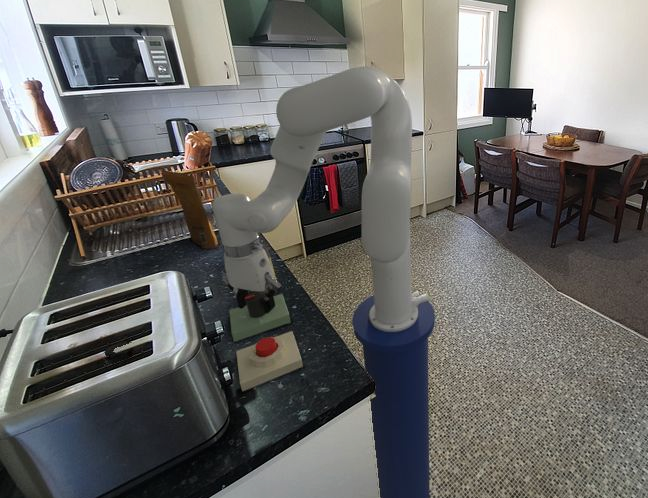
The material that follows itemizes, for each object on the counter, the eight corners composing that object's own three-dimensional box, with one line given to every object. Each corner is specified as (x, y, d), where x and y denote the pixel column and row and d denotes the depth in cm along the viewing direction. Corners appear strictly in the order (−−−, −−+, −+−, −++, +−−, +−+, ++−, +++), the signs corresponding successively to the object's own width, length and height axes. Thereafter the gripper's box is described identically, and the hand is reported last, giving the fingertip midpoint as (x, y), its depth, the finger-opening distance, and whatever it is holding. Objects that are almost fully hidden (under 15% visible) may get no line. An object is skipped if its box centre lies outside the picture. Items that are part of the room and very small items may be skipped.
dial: (266, 304, 91) (262, 287, 89) (269, 314, 88) (265, 296, 85) (248, 310, 89) (244, 293, 87) (250, 320, 85) (245, 302, 83)
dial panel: (283, 301, 96) (282, 293, 95) (290, 322, 88) (289, 314, 87) (231, 317, 90) (229, 309, 89) (234, 342, 82) (231, 333, 81)
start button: (275, 340, 78) (273, 334, 77) (278, 352, 74) (276, 346, 74) (256, 347, 76) (254, 341, 75) (258, 360, 73) (256, 353, 72)
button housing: (293, 337, 83) (290, 324, 82) (303, 366, 75) (300, 352, 74) (238, 358, 78) (234, 344, 76) (242, 391, 70) (237, 377, 68)
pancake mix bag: (205, 254, 120) (182, 177, 109) (181, 240, 130) (157, 168, 119) (225, 246, 125) (204, 172, 114) (200, 233, 135) (179, 163, 124)
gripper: (284, 242, 82) (296, 303, 89) (223, 234, 86) (239, 293, 93) (263, 258, 75) (278, 323, 82) (198, 249, 79) (217, 311, 86)
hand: (257, 307), depth 88 cm, fingers open, 6 cm apart
